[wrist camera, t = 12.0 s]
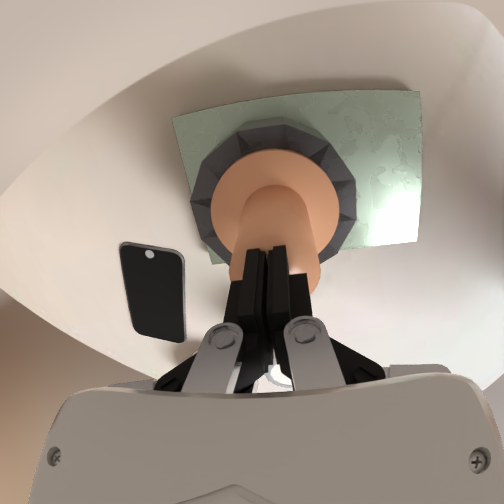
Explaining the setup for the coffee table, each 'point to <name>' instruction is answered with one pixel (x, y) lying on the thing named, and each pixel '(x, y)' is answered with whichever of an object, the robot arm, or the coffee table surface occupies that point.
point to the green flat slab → (318, 157)
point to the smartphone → (155, 290)
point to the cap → (275, 210)
